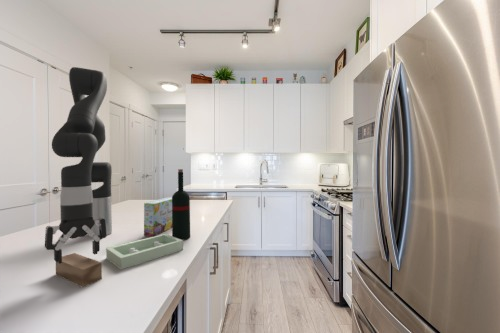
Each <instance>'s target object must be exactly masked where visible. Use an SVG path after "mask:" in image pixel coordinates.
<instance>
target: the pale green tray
mask: <svg viewBox="0 0 500 333" xmlns="http://www.w3.org/2000/svg"><path fill="white" fill-rule="evenodd" d="M105 250H106V251H105V252H106V254H105V255H106V256H105V257H106V260H108V261H109V262H111V263H112V264H114V265H115V266H116V267H118V268H119V269H120V270H124V269H126V268H127V269H128V268H130V267H133V266H137V265H140V264H143V263H145V262H149V261H151V260H155V259H158V258H161V257H165V256H167V255H170V254H174V253H177V252H180V251H183V250H184V240H181V239H178V238H175V237H173V236H172V235H170V234H167V233H161V234H158V235H156V236H154V237H147V238H143V239H139V240H134V241H131V242H126V243H123V244H118V245H114V246H110V247H107V248H105Z"/></svg>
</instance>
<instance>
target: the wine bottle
mask: <svg viewBox="0 0 500 333" xmlns="http://www.w3.org/2000/svg"><path fill="white" fill-rule="evenodd" d="M177 170H178V171H177V185H178V186H177V191H175V192H174V193H173V194H172V196H171V197H172V228H171V231H172V232H171V234H172V235H171V236H173V237H175V238H178V239H181V240H183V241H186V240H188V239H190V238H191V199H190V198H191V197H190V195H189V193H188V192H187V191H185V190H184V169H182V168H181V169H180V168H179V169H177Z"/></svg>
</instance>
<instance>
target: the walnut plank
mask: <svg viewBox="0 0 500 333" xmlns="http://www.w3.org/2000/svg"><path fill="white" fill-rule="evenodd" d="M102 266H103V265H102V262H101V261H98V260H97V259H96V260H95V259H93V258H89V257H87V256H85V255H81V254H79V253H76V252H74V253H70V254H67V255H63V256H62V263H59V264H58V263H57V262H56V261H55V276H58V277H60V278H62V279H64V280H66V281H68V282H71V283H72V284H74V285H77V286H79V287H81V288H84V287H87V286H88V285H92V284H94V283H97V282H98V281H101V280H103V275H102V273H103V270H102V268H103V267H102Z"/></svg>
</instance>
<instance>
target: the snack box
mask: <svg viewBox="0 0 500 333" xmlns="http://www.w3.org/2000/svg"><path fill="white" fill-rule="evenodd" d="M143 209H144V210H143V237H148V238H150V237H154V236H158V235H161V234H163V232H166V231H168V230H170V229H172V196H167V197H163V198H159V199H157V200H156V199H155V200H153V201H148V202H144V204H143Z"/></svg>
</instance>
